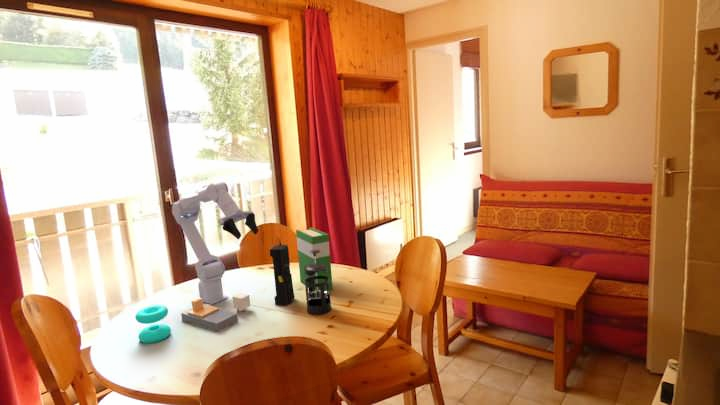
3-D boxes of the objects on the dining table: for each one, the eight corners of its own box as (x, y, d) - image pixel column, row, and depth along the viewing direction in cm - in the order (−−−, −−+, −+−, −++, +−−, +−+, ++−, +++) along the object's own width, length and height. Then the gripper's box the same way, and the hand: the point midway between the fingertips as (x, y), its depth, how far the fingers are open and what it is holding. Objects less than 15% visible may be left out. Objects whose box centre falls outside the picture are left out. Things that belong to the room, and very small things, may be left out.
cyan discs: (138, 306, 148) (169, 302, 151) (142, 333, 150) (173, 328, 152) (131, 318, 139) (165, 312, 141) (136, 346, 140) (169, 341, 143)
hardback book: (300, 282, 192) (295, 230, 188) (315, 278, 196) (311, 227, 192) (316, 293, 177) (311, 237, 173) (332, 289, 180) (328, 234, 177)
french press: (337, 311, 158) (332, 251, 154) (314, 318, 153) (308, 256, 150) (322, 301, 168) (318, 245, 164) (300, 307, 163) (295, 249, 160)
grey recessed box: (182, 321, 158) (181, 313, 158) (202, 311, 166) (201, 304, 165) (218, 331, 148) (217, 323, 147) (238, 321, 155) (237, 313, 154)
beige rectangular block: (233, 311, 164) (232, 296, 163) (241, 307, 167) (240, 292, 166) (243, 313, 161) (241, 298, 160) (250, 309, 165) (249, 294, 164)
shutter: (187, 313, 157) (186, 303, 156) (205, 306, 163) (203, 295, 162) (201, 317, 152) (200, 306, 152) (218, 309, 159) (217, 299, 158)
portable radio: (288, 306, 165) (282, 244, 161) (273, 306, 167) (267, 244, 163) (295, 298, 173) (289, 238, 169) (281, 298, 174) (275, 238, 170)
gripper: (215, 204, 153) (235, 232, 148) (248, 197, 164) (268, 223, 159) (209, 216, 156) (228, 244, 152) (242, 209, 168) (261, 235, 163)
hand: (248, 234), depth 156 cm, fingers open, 7 cm apart
